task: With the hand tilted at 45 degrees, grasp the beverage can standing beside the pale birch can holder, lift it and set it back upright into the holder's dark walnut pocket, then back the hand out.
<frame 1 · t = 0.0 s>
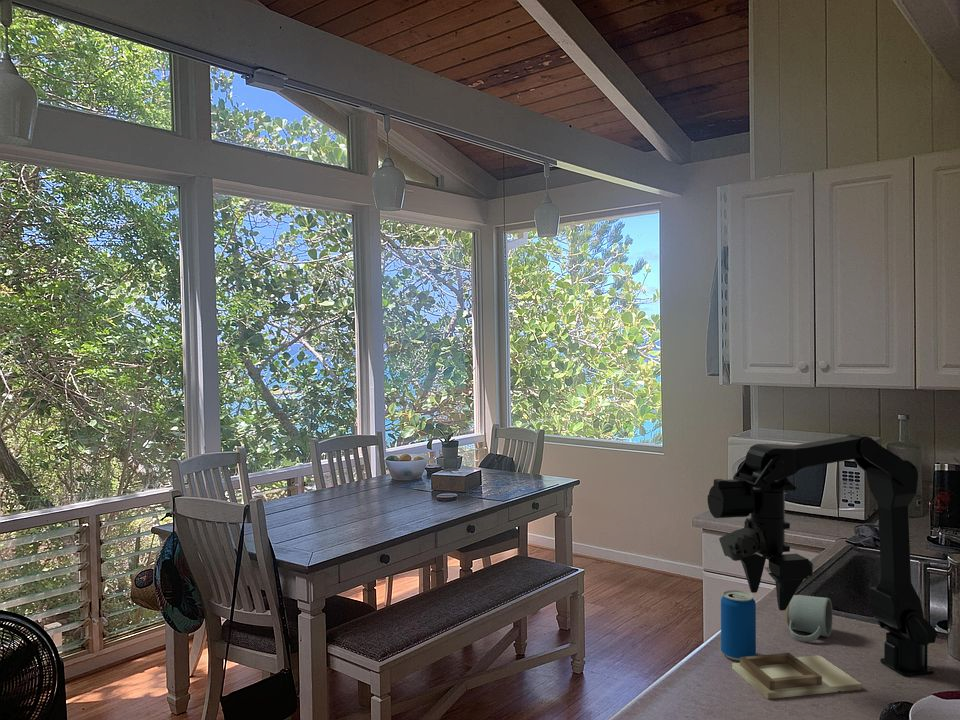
hand: (767, 601, 133), 15 cm above the worktop, tool pointing down, fingers open, 9 cm apart
ceramic mug: (809, 635, 154), on the worktop
beverage can: (738, 656, 144), on the worktop
can holder: (779, 680, 134), on the worktop
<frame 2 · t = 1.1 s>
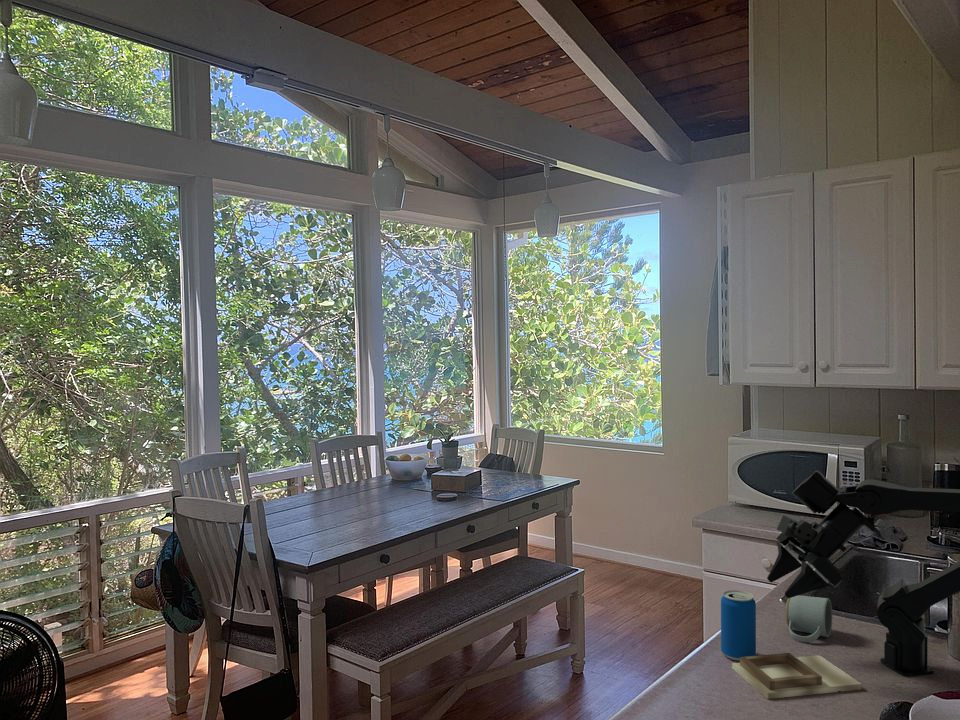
hand: (777, 588, 143), 13 cm above the worktop, tool tilted 45°, fingers open, 9 cm apart
nothing on the worktop moved.
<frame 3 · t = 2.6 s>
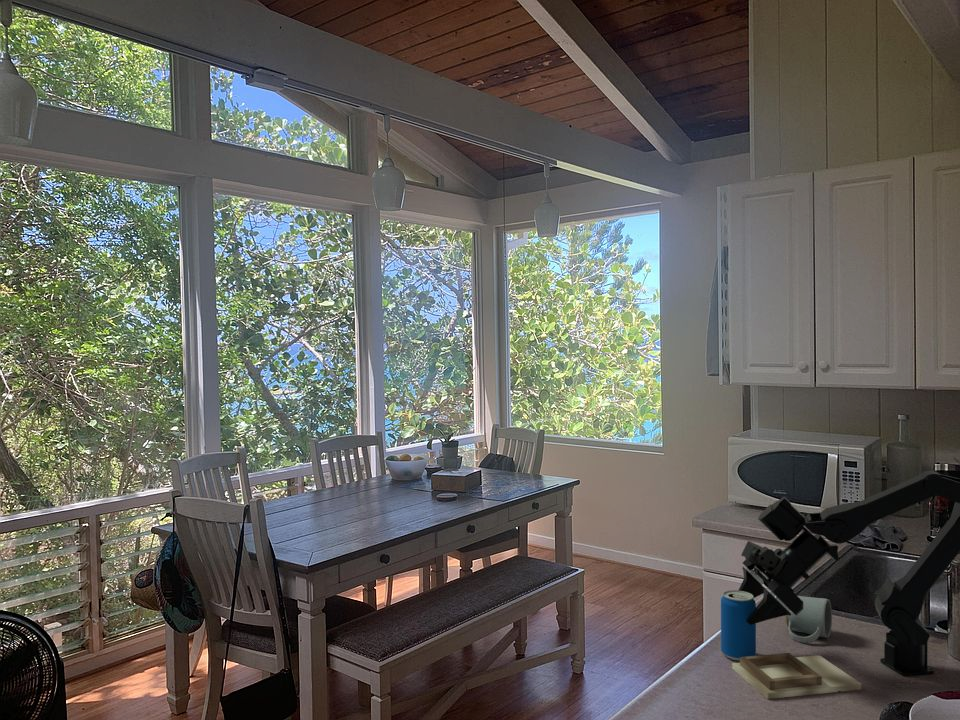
hand: (740, 613, 144), 8 cm above the worktop, tool tilted 45°, fingers open, 9 cm apart
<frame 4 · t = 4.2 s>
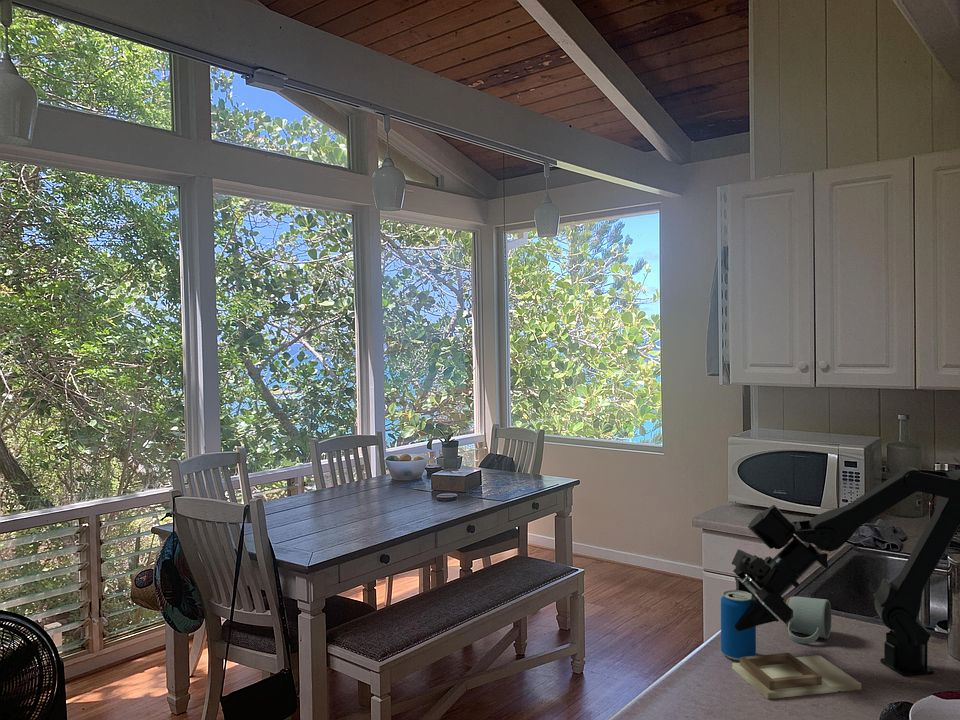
hand: (730, 622, 144), 7 cm above the worktop, tool tilted 45°, fingers closed on beverage can, 6 cm apart
beverage can: (738, 656, 144), on the worktop, touching gripper
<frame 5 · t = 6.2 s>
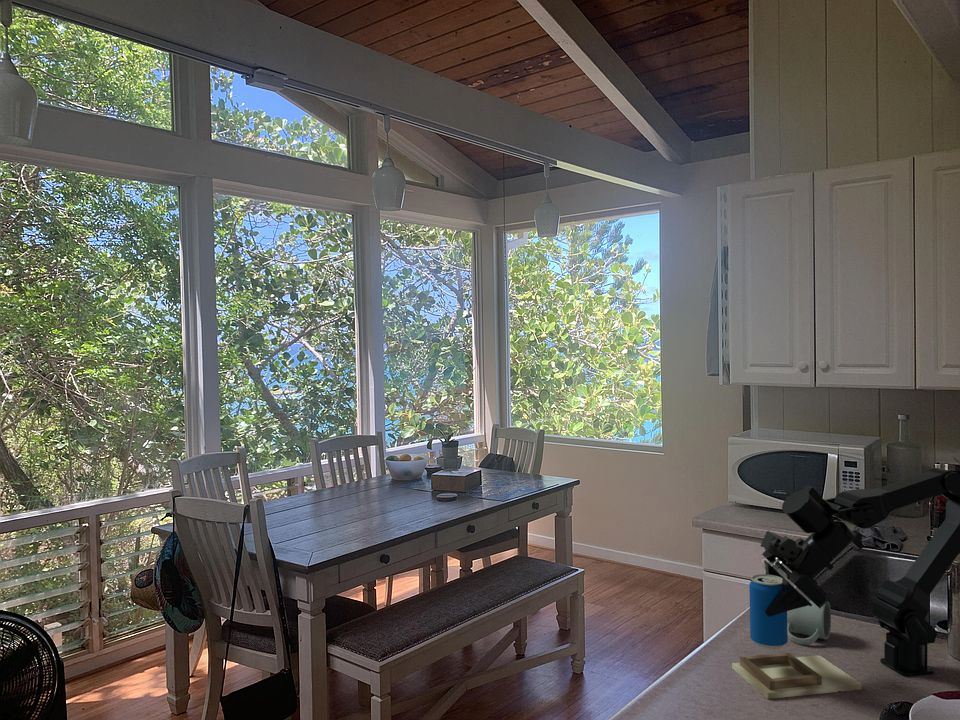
hand: (760, 607, 136), 12 cm above the worktop, tool tilted 45°, fingers closed on beverage can, 6 cm apart
beverage can: (768, 644, 137), point 5 cm above the worktop, touching gripper
when the fingers open (8 cm above the worktop, at t = 8.3 s): beverage can stays where it is, resting on can holder.
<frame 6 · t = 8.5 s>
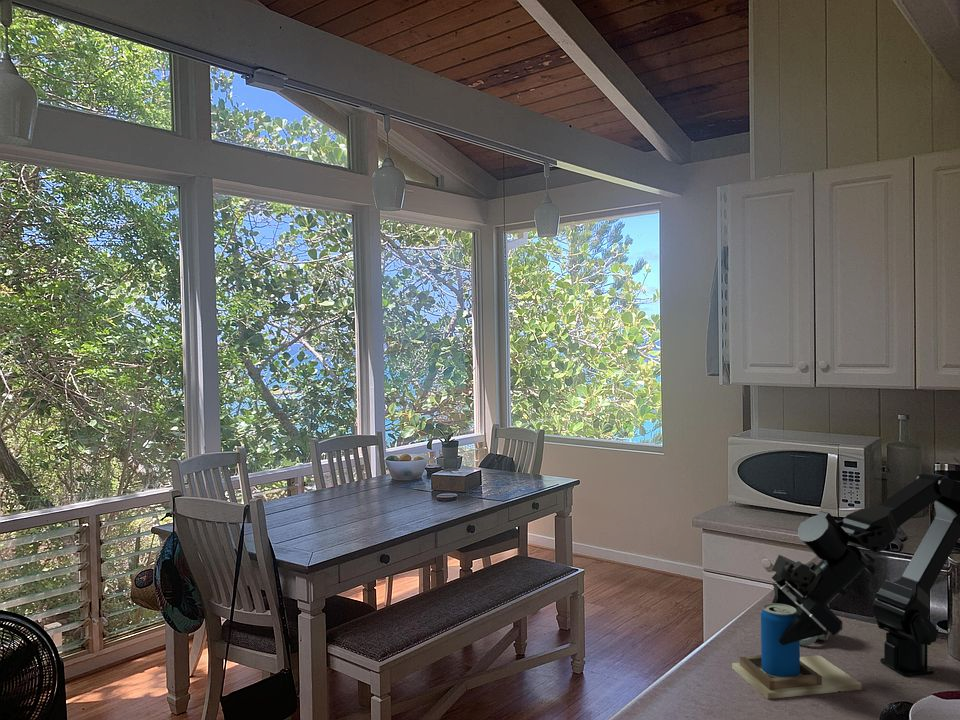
hand: (771, 633, 133), 9 cm above the worktop, tool tilted 45°, fingers open, 8 cm apart
beverage can: (780, 675, 134), point 1 cm above the worktop, touching can holder
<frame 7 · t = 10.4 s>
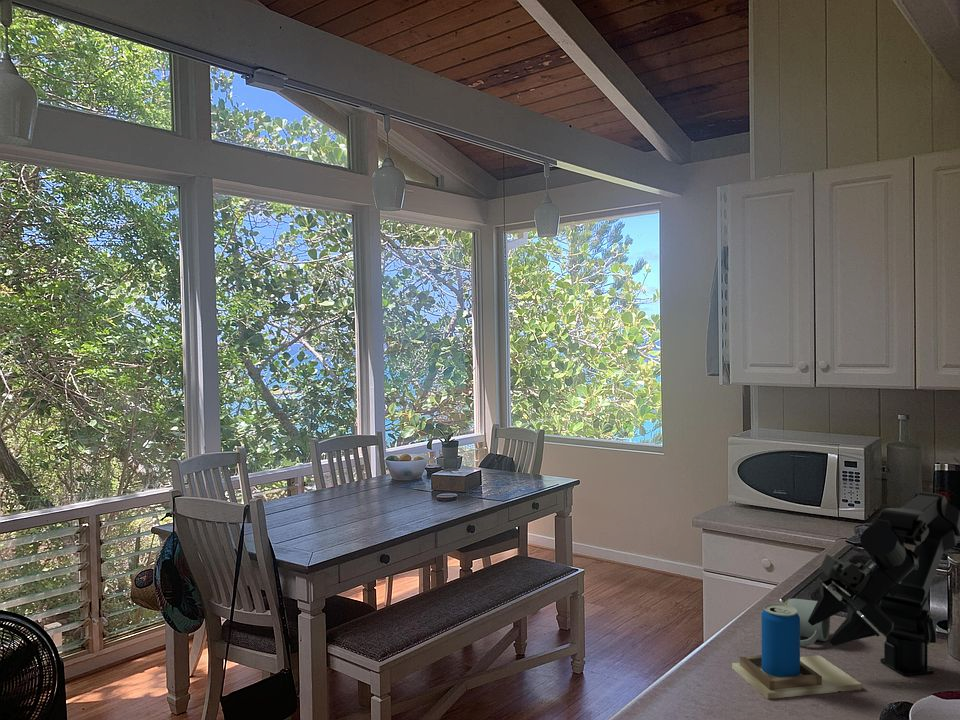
hand: (819, 633, 133), 9 cm above the worktop, tool tilted 45°, fingers open, 9 cm apart
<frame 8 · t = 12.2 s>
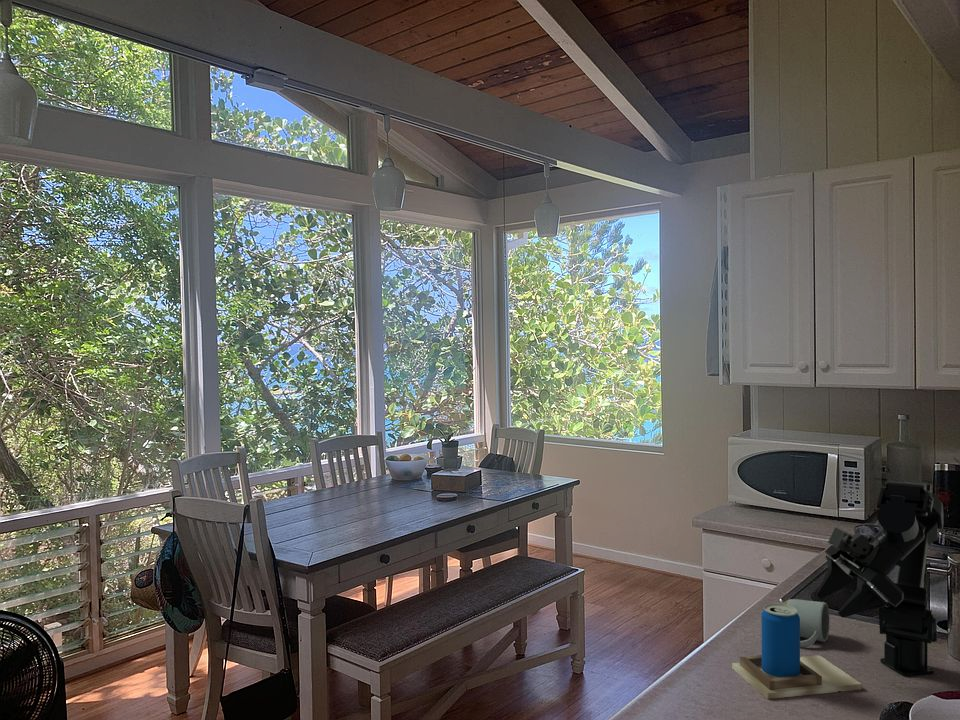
hand: (828, 606, 133), 14 cm above the worktop, tool tilted 45°, fingers open, 9 cm apart
at the end: beverage can 0.2 cm off-centre on the can holder, point 0.8 cm above the can holder's base; beverage can tilted 0°; the gripper is holding nothing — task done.
